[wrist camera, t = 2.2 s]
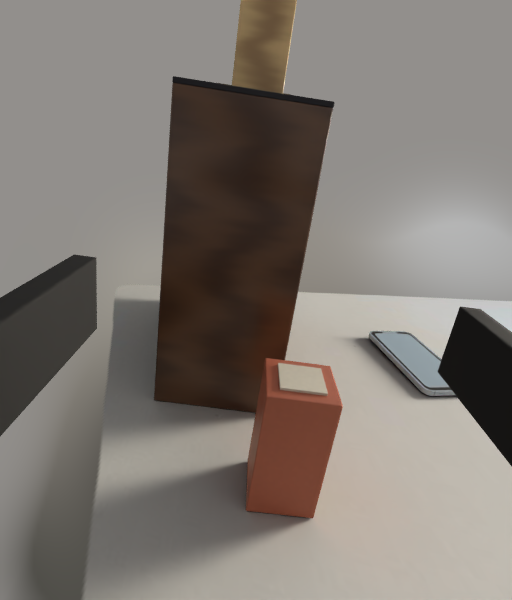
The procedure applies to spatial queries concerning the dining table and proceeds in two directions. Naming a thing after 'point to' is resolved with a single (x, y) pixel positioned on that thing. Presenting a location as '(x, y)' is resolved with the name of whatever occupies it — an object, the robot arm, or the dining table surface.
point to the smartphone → (413, 360)
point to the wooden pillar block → (263, 44)
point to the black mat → (253, 92)
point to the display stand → (233, 240)
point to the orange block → (291, 437)
